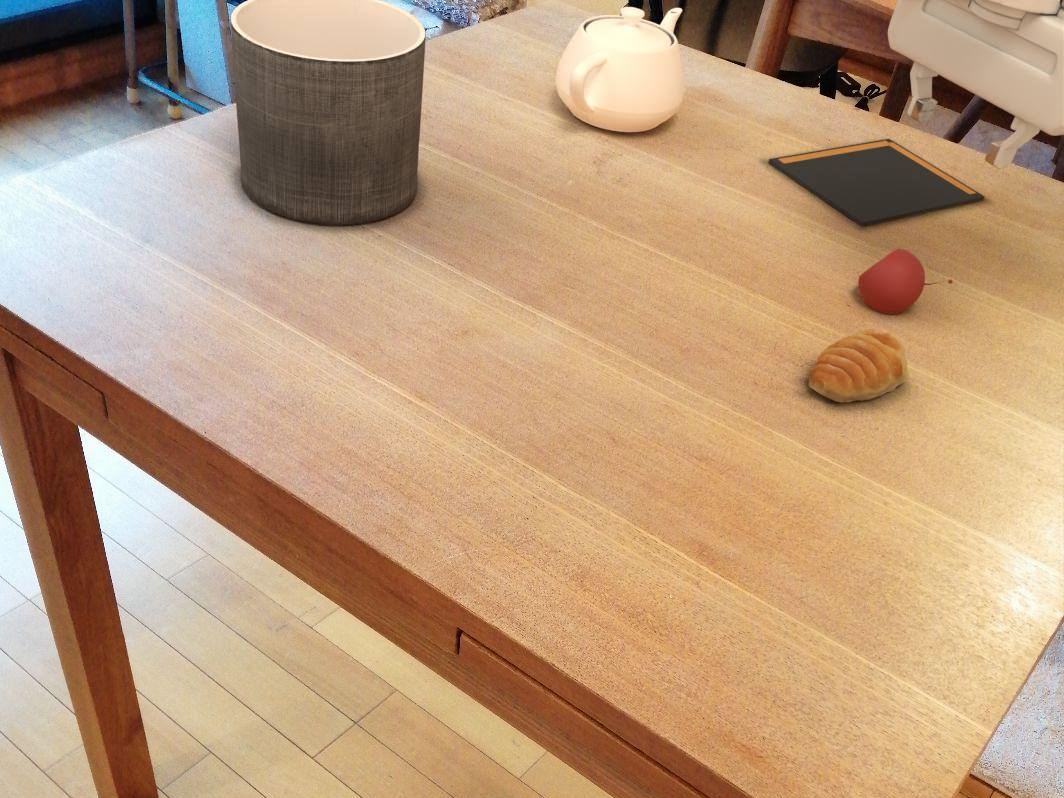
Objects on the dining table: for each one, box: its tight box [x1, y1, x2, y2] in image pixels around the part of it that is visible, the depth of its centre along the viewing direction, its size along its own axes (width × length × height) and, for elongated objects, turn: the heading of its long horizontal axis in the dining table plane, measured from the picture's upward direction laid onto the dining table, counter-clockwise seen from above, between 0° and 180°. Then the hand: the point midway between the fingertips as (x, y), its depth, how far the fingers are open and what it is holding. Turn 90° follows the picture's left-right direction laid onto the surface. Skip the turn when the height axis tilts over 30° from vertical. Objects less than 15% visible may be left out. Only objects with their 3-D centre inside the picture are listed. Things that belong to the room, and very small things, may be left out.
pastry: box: [808, 328, 910, 404], centre depth 95 cm, size 9×7×4 cm
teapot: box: [554, 6, 686, 133], centre depth 130 cm, size 25×16×12 cm, turn 147°
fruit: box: [857, 248, 954, 315], centre depth 105 cm, size 6×6×8 cm
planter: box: [229, 0, 427, 225], centre depth 106 cm, size 18×18×16 cm
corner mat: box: [768, 138, 986, 227], centre depth 128 cm, size 20×16×1 cm
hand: (956, 141), depth 96 cm, fingers open, 8 cm apart
